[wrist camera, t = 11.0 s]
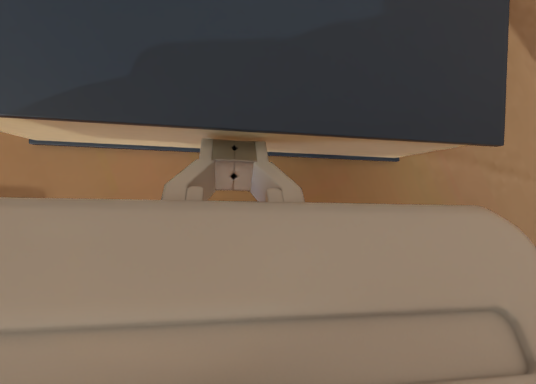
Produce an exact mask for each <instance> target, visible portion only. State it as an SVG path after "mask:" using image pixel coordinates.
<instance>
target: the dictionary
mask: <svg viewBox="0 0 536 384" xmlns="http://www.w3.org/2000/svg"><path fill="white" fill-rule="evenodd" d="M509 1H510V0H0V132H4V133H8V134H12V135H16V136H20V137H24V138H28V139H29V144H33V145H54V146H75V147H96V148H118V149H139V150H160V151H181V152H200V147H201V140H202V138H206V139H222V140H234V141H265V142H266V147H267V154H268V156H287V157H308V158H329V159H350V160H372V161H393V162H397V161H399V157H403V156H409V155H415V154H421V153H427V152H433V151H438V150H444V149H450V148H456V147H462V146H467V145H477V146H494V147H497V146H503V145H504V129H505V103H506V78H507V52H508V26H509Z"/></svg>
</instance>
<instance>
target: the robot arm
mask: <svg viewBox="0 0 536 384" xmlns="http://www.w3.org/2000/svg"><path fill="white" fill-rule="evenodd" d="M215 190H236V191H250V192H251V193H252V195H253V196H254V197H255V198H256V200H257V201H258V202H249V201H208V199H209V198H210V197H211V196H212V194H213V193H214V192H215ZM0 384H536V246H535V245H534V244H533V243H532V241H531V240H530V239H529V238H528V237H527V236H526V235H525V233H524V232H523V231H522V230H521V229H519V228H518V227H517V226H516V225H514V224H513V223H511V222H510V221H508V220H506V219H505V218H503V217H501V216H500V215H498V214H496V213H494V212H493V211H491V210H489V209H487V208H485V207H482V206H477V205H422V204H365V203H308V202H305V200H304V196H303V192H302V188H301V187H299V186H298V185H297V184H296V183H295V182H294V181H293V180H291V179H290V178H289V177H288V176H287V175H286V174H284V173H283V172H282V171H281V170H280V169H279V168H278V167H276V166H275V165H274V164H273V163H272V162H269V160H268V154H267V147H266V142H265V141H234V140H222V139H206V138H202V140H201V147H200V156H199V159H196V160H195V161H194V162H192V163H191V164H190V165H189V166H187V167H186V168H185V169H184V170H182V171H181V172H180V173H179V174H177V175H176V176H175V177H174V178H172V179H171V180H170V181H169V182H167V183H166V184H165V185H164V190H163V194H162V198H161V200H132V199H73V198H14V197H0Z"/></svg>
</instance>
